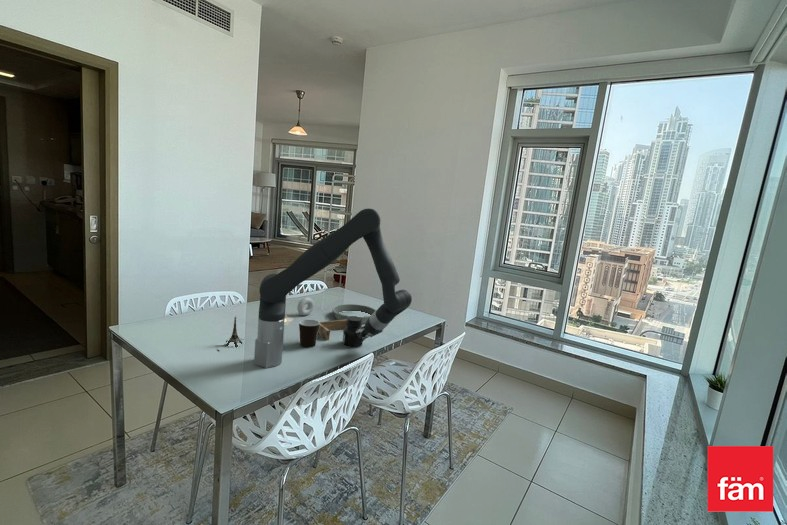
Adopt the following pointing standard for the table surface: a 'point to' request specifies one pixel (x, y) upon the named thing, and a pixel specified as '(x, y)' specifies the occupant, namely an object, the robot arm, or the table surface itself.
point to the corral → (331, 327)
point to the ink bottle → (352, 332)
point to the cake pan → (352, 308)
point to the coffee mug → (308, 332)
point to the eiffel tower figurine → (234, 336)
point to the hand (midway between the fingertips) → (360, 339)
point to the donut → (309, 308)
